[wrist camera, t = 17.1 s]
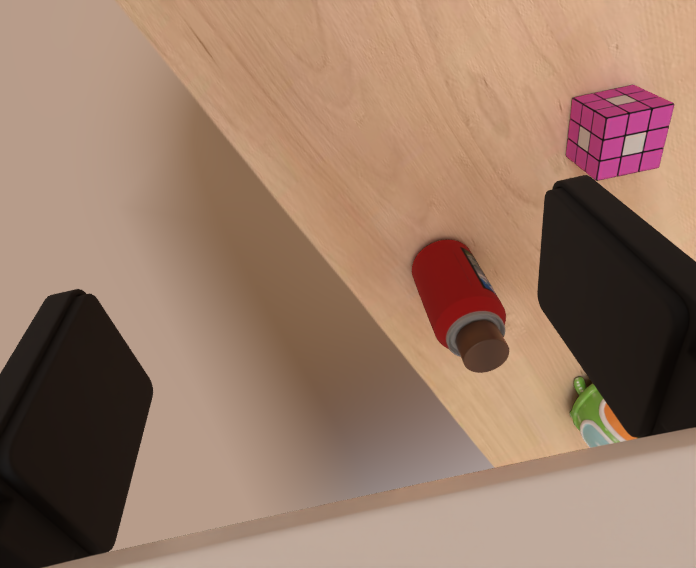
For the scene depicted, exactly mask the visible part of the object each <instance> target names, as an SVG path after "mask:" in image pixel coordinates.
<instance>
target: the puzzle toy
mask: <svg viewBox="0 0 696 568" xmlns="http://www.w3.org/2000/svg"><path fill="white" fill-rule="evenodd" d="M673 108H674V103H672V102H670V101H668V100H666V99H664V98H661V97H658V96H657V95H655V94H653V93H650V92H648V91H645V90H644V89H642V88H640V87H637V86H635V85H630V86H626V87H621V88H616V89H611V90H607V91H602V92H597V93H594V94H588V95H583V96H578V97H574V98H573V99H572V107H571V116H570V118H571V119H570V124H569V133H568V142H567V150H566V157H568V158H569V159H570V160H571V161H573V162H574V163H575V164H576V165H577V166H579V167H580V168H581V169H582V170H584V171H585V172H586V173H587V174H589V175H590V176H591V177H592V178H594V179H595V180H596V181H598V180H603V179H608V178H612V177H617V176H622V175H627V174H631V173H636V172H641V171H646V170H651V169H655V168H659V165H660V161H661V157H662V153H663V149H664V148H663V147H664V145H665V141H666V137H667V133H668V129H669V124H670V120H671V116H672V112H673Z"/></svg>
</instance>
